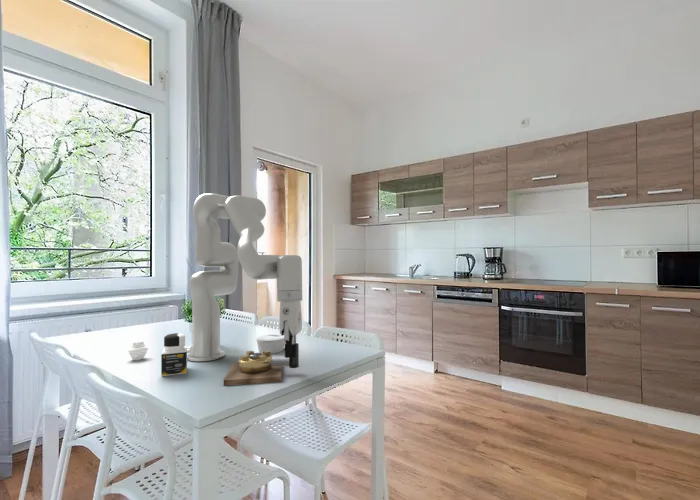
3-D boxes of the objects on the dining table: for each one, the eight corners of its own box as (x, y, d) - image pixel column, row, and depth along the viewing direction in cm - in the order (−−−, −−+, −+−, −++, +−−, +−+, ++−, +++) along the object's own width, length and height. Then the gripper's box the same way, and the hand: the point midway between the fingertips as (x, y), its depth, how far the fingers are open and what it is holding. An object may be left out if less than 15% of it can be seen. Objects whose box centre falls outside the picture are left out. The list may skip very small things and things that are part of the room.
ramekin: (288, 347, 145) (288, 334, 145) (282, 354, 134) (282, 340, 134) (261, 347, 145) (261, 334, 145) (252, 354, 134) (252, 340, 134)
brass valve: (234, 373, 106) (234, 348, 107) (245, 363, 116) (245, 340, 117) (295, 373, 106) (295, 348, 106) (301, 363, 116) (301, 340, 116)
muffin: (126, 359, 129) (126, 340, 129) (145, 356, 133) (145, 337, 134) (131, 362, 125) (131, 342, 125) (150, 359, 129) (150, 339, 129)
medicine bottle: (161, 376, 109) (161, 337, 110) (163, 370, 116) (163, 333, 116) (186, 373, 112) (186, 335, 112) (187, 367, 119) (187, 331, 119)
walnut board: (223, 385, 101) (223, 380, 101) (234, 366, 119) (234, 362, 119) (280, 381, 103) (280, 376, 104) (282, 363, 121) (282, 359, 121)
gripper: (296, 298, 100) (297, 364, 99) (306, 293, 115) (307, 350, 114) (270, 298, 100) (271, 364, 100) (283, 293, 115) (284, 350, 115)
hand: (290, 356), depth 107 cm, fingers closed
